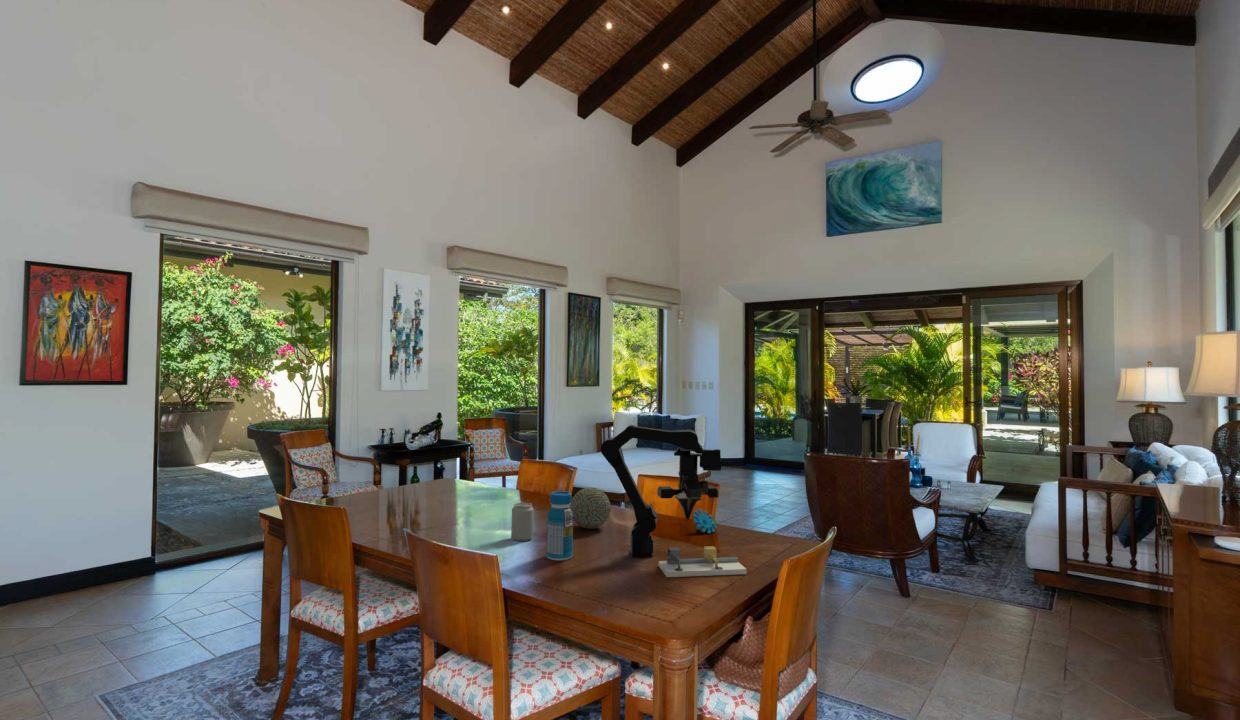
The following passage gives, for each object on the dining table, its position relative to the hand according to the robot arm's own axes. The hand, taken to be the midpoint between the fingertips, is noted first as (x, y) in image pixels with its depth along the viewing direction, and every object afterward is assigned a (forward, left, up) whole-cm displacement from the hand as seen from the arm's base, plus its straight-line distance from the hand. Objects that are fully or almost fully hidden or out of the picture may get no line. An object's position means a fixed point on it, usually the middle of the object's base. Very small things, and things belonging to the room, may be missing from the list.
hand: (687, 519), depth 201 cm
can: (-51, +26, -12) cm, 59 cm away
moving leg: (+4, -13, -10) cm, 17 cm away
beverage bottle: (-40, +4, -12) cm, 42 cm away
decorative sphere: (-26, +38, -12) cm, 48 cm away
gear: (+16, +30, -12) cm, 36 cm away
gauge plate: (+1, -13, -12) cm, 18 cm away
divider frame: (+2, -13, -11) cm, 17 cm away
